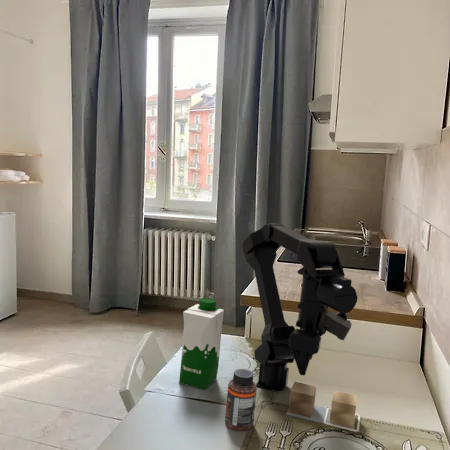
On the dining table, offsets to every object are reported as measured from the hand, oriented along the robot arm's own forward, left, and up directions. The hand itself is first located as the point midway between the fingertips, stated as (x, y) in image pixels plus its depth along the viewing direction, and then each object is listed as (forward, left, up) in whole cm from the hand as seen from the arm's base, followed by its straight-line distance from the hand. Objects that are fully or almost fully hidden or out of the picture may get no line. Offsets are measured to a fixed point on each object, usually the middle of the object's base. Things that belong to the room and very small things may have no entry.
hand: (305, 366), depth 102 cm
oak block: (+9, 0, -10) cm, 14 cm away
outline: (+9, 0, -10) cm, 14 cm away
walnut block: (0, 0, -10) cm, 10 cm away
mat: (+5, 0, -10) cm, 11 cm away
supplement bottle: (-11, -12, -11) cm, 19 cm away
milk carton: (-26, +2, -11) cm, 28 cm away
